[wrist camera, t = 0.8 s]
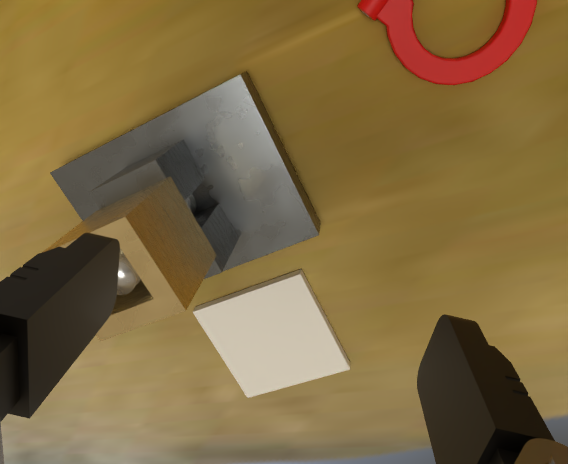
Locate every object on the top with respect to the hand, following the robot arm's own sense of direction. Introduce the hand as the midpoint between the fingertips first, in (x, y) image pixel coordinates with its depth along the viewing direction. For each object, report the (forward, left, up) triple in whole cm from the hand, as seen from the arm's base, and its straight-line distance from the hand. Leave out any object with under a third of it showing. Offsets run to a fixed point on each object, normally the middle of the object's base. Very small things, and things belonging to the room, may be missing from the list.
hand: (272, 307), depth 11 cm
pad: (+11, +15, -22) cm, 29 cm away
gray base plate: (+11, +1, -22) cm, 25 cm away
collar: (+11, +1, -15) cm, 19 cm away
